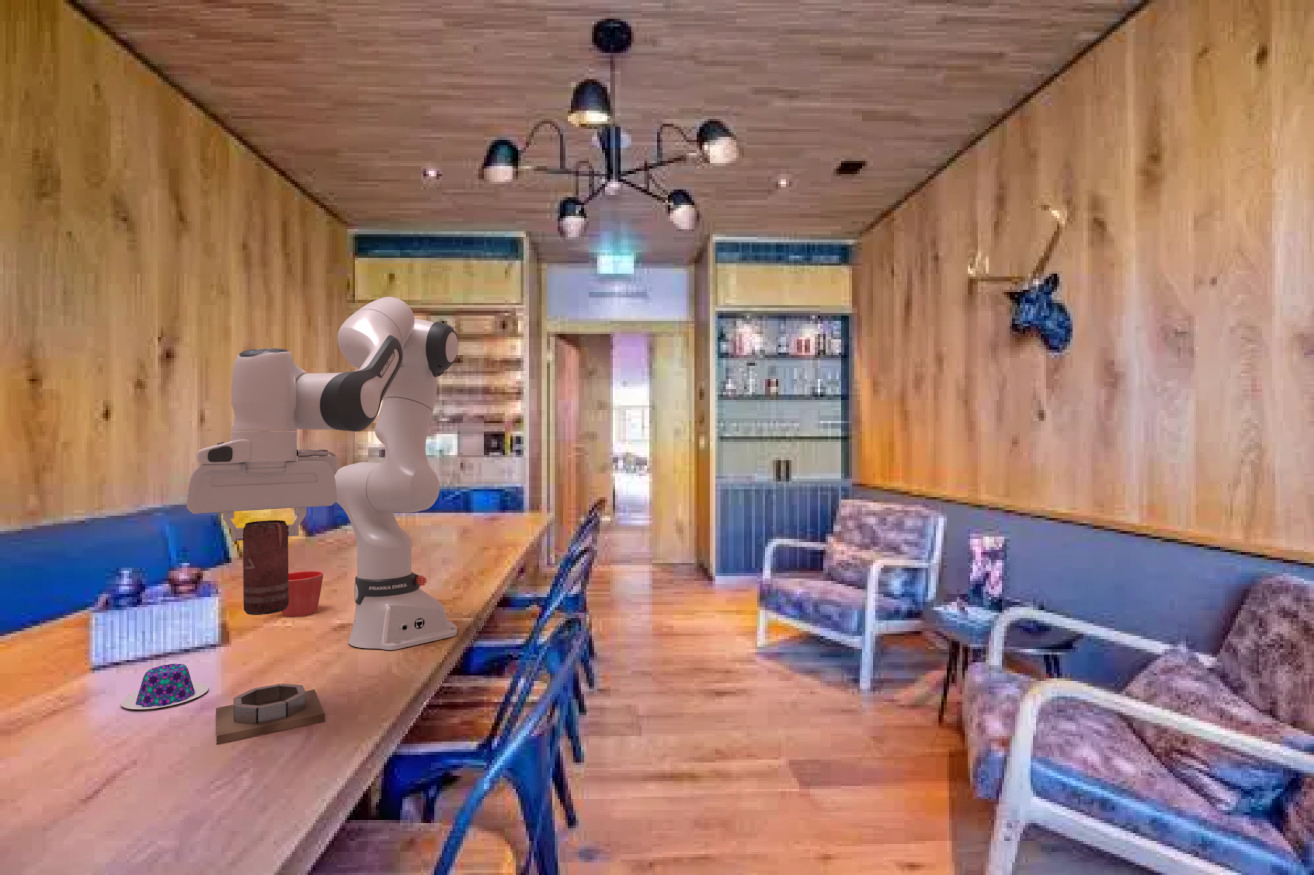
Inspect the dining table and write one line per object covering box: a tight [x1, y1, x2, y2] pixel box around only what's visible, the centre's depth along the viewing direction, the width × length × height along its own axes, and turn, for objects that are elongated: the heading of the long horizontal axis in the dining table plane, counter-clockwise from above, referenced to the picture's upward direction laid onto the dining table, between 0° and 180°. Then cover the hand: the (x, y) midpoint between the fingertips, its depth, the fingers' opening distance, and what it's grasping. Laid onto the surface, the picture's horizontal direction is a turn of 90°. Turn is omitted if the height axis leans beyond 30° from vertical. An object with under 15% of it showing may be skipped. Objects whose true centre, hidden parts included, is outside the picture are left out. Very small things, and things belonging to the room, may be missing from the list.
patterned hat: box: [120, 663, 210, 710], centre depth 111 cm, size 12×12×5 cm
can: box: [242, 519, 289, 616], centre depth 103 cm, size 6×6×14 cm
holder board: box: [215, 689, 326, 745], centre depth 103 cm, size 14×12×1 cm
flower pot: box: [281, 570, 324, 618], centre depth 166 cm, size 11×11×10 cm
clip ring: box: [232, 683, 306, 725], centre depth 103 cm, size 10×10×2 cm
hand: (265, 538), depth 103 cm, fingers closed on can, 6 cm apart
